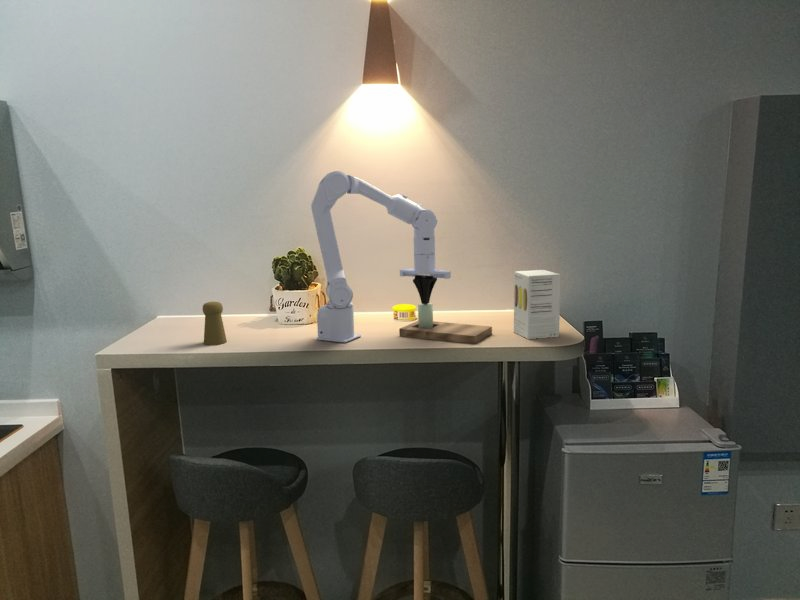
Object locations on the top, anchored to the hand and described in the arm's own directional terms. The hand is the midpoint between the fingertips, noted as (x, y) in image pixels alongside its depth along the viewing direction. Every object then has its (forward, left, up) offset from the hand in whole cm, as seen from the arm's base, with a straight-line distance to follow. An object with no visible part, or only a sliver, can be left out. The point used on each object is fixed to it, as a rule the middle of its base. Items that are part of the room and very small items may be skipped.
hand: (425, 303), depth 175 cm
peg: (0, 0, -8) cm, 8 cm away
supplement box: (+28, +10, -8) cm, 31 cm away
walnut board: (+6, 0, -8) cm, 10 cm away
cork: (-47, -32, -8) cm, 57 cm away
